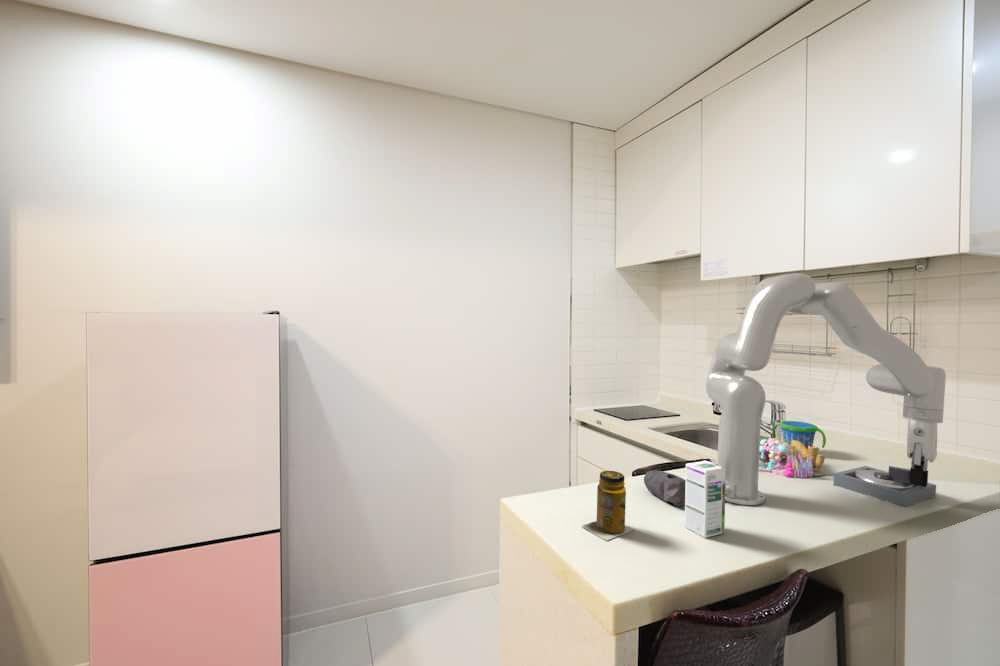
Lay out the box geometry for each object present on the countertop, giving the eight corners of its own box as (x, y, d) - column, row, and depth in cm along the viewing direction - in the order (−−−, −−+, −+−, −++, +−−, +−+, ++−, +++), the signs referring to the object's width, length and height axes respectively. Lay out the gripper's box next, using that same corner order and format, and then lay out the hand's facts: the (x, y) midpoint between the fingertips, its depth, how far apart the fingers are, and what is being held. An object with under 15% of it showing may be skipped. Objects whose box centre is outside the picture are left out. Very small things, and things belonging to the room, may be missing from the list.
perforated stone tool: (637, 489, 120) (637, 464, 119) (652, 487, 122) (653, 461, 121) (678, 512, 106) (679, 484, 106) (695, 509, 108) (696, 481, 108)
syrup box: (705, 539, 93) (707, 470, 93) (683, 526, 99) (685, 462, 98) (724, 534, 96) (727, 467, 95) (702, 522, 101) (704, 459, 100)
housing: (904, 506, 111) (905, 493, 111) (833, 484, 126) (834, 472, 126) (935, 496, 118) (936, 484, 118) (864, 476, 132) (865, 465, 132)
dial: (854, 484, 121) (855, 466, 121) (855, 472, 130) (856, 456, 130) (929, 498, 112) (930, 479, 111) (924, 485, 121) (925, 467, 121)
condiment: (633, 530, 97) (635, 476, 96) (606, 541, 92) (608, 484, 91) (607, 517, 103) (608, 466, 102) (581, 527, 98) (582, 473, 97)
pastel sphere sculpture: (794, 456, 153) (795, 429, 152) (841, 481, 129) (842, 450, 129) (718, 452, 155) (719, 426, 154) (751, 477, 131) (752, 446, 131)
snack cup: (766, 450, 158) (767, 421, 157) (778, 445, 164) (779, 417, 164) (818, 462, 146) (820, 431, 145) (829, 456, 152) (830, 426, 152)
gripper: (940, 421, 107) (935, 496, 107) (945, 413, 116) (941, 482, 117) (898, 415, 112) (894, 487, 113) (907, 408, 122) (903, 474, 123)
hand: (918, 484), depth 115 cm, fingers closed
